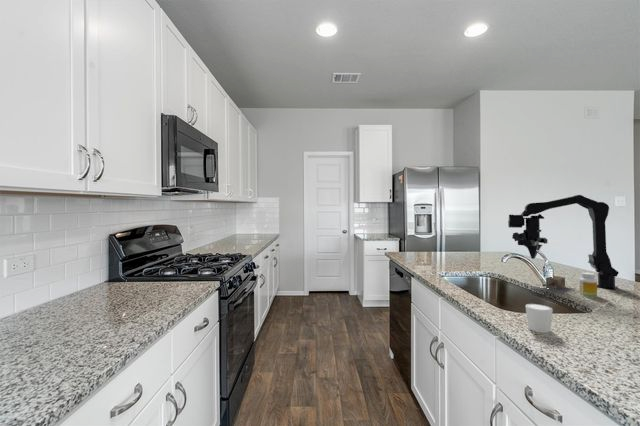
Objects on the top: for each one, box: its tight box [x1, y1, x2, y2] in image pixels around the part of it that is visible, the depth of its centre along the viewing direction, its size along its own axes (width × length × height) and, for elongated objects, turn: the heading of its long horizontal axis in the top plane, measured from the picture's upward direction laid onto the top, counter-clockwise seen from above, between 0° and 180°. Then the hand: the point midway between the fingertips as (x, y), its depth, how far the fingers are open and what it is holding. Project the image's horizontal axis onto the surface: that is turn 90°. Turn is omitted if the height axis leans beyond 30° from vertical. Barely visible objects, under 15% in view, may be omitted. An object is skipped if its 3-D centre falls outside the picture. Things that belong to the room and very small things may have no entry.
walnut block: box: [545, 275, 566, 290], centre depth 138 cm, size 4×4×8 cm
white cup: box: [525, 303, 554, 334], centre depth 92 cm, size 7×7×7 cm
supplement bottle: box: [579, 272, 598, 298], centre depth 124 cm, size 5×5×10 cm
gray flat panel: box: [532, 285, 575, 295], centre depth 136 cm, size 14×12×1 cm
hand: (533, 258), depth 149 cm, fingers closed
